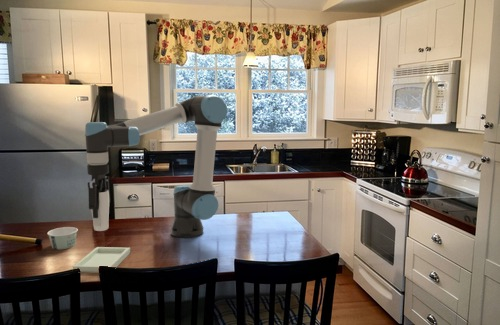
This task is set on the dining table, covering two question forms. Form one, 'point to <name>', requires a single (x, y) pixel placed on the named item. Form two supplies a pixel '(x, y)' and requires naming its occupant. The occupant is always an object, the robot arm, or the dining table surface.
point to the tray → (102, 258)
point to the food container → (63, 237)
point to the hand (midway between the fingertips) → (101, 223)
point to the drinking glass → (103, 211)
